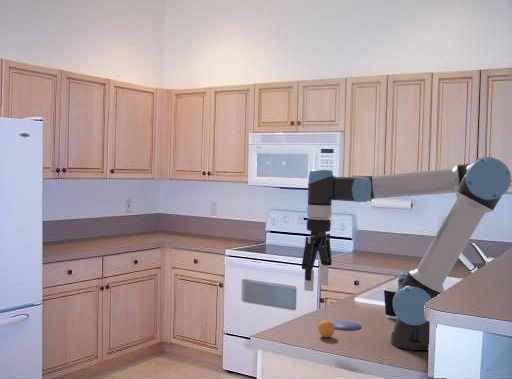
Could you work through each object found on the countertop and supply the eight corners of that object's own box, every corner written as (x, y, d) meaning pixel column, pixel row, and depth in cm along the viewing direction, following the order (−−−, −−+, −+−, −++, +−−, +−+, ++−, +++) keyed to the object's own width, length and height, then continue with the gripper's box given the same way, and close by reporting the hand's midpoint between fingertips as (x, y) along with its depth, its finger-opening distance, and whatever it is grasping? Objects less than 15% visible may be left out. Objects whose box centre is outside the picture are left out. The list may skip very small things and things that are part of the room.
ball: (337, 338, 187) (338, 321, 187) (324, 340, 185) (324, 323, 185) (328, 333, 192) (328, 317, 192) (314, 335, 190) (315, 319, 189)
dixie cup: (377, 316, 219) (378, 287, 219) (391, 313, 224) (392, 286, 223) (393, 320, 213) (394, 291, 212) (407, 318, 217) (408, 289, 217)
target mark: (368, 328, 201) (368, 327, 201) (341, 331, 195) (341, 331, 195) (347, 320, 211) (347, 319, 211) (321, 323, 206) (321, 322, 206)
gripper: (322, 215, 191) (320, 281, 192) (291, 219, 171) (289, 292, 172) (343, 217, 187) (340, 283, 188) (314, 221, 167) (311, 295, 168)
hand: (316, 287), depth 180 cm, fingers open, 10 cm apart
